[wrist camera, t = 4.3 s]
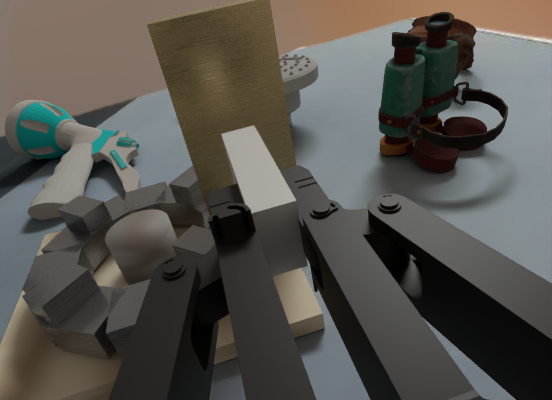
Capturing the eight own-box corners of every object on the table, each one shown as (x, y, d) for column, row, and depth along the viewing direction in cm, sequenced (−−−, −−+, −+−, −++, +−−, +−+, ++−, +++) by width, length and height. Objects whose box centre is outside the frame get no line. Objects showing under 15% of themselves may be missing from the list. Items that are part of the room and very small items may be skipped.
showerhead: (207, 78, 40) (252, 49, 47) (224, 143, 44) (263, 107, 51) (293, 75, 36) (328, 44, 43) (304, 147, 40) (334, 107, 47)
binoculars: (494, 58, 24) (362, 33, 30) (462, 196, 30) (358, 152, 37) (557, 19, 28) (429, 5, 34) (516, 148, 34) (415, 116, 41)
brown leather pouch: (374, 83, 53) (393, 18, 51) (435, 100, 55) (454, 38, 53) (424, 83, 42) (450, 0, 40) (497, 104, 44) (525, 26, 42)
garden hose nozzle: (123, 171, 34) (156, 78, 49) (-84, 192, 34) (15, 92, 49) (145, 230, 39) (170, 129, 54) (-36, 250, 38) (41, 142, 54)
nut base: (-20, 441, 20) (-79, 392, 17) (52, 246, 33) (24, 202, 30) (325, 328, 22) (315, 269, 19) (261, 187, 35) (251, 142, 32)
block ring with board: (12, 393, 20) (-235, 138, 12) (66, 232, 31) (-42, 50, 24) (341, 287, 22) (310, 11, 14) (278, 173, 33) (242, -13, 26)
